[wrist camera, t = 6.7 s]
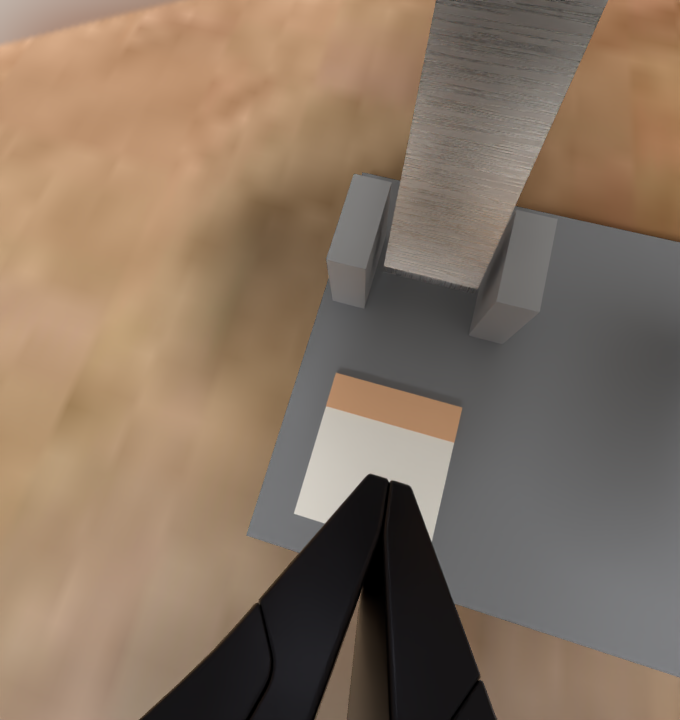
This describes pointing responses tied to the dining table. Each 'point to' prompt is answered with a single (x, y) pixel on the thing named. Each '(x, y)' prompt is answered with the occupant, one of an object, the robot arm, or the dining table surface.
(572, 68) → the lever
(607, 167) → the dining table surface
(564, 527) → the switch box
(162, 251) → the dining table surface
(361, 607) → the robot arm
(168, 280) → the dining table surface
